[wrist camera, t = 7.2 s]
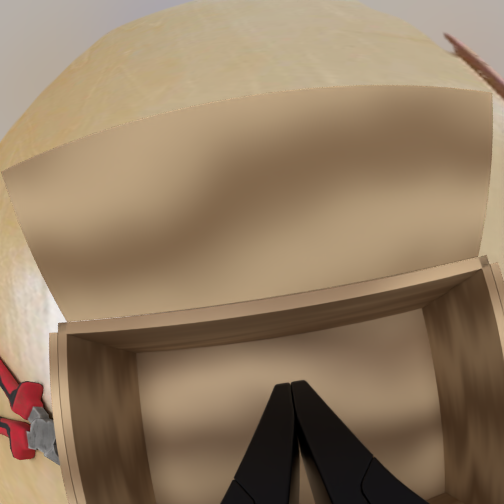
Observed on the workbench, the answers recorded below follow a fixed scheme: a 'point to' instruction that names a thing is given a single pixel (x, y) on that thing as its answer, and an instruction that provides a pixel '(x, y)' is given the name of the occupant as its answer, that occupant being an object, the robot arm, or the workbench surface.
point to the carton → (288, 370)
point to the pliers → (30, 408)
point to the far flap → (258, 198)
